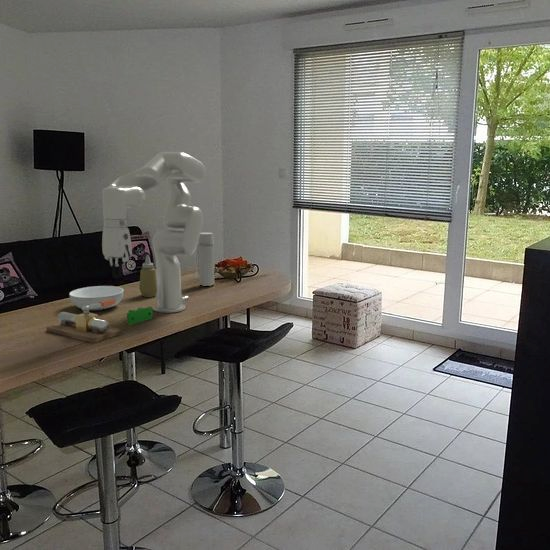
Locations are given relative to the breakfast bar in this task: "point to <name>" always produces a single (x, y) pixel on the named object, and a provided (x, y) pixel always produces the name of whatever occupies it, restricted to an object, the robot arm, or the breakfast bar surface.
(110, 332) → the valve stand
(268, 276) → the breakfast bar surface
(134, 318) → the pipe clamp
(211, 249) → the water bottle
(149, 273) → the squeeze bottle
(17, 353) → the breakfast bar surface
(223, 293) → the breakfast bar surface
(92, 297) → the serving bowl
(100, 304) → the valve lever
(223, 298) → the breakfast bar surface
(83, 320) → the valve and pipe
